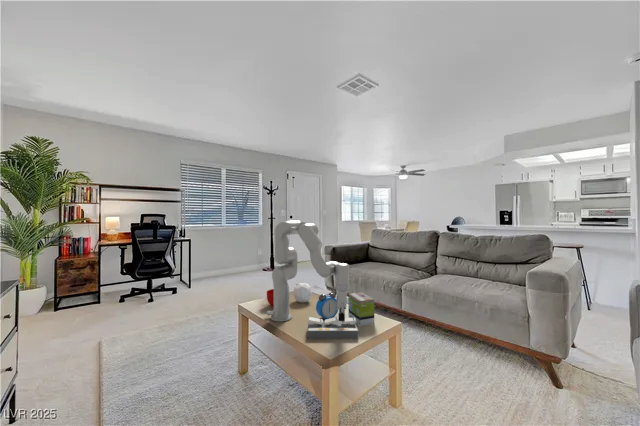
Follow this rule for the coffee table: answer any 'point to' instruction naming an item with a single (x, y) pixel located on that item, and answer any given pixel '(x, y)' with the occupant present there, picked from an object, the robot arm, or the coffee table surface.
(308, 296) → the geodesic sphere
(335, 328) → the switch console
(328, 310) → the alarm clock
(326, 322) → the plate
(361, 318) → the tea box
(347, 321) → the rocker
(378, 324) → the coffee table surface
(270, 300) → the ceramic cup
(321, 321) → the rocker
